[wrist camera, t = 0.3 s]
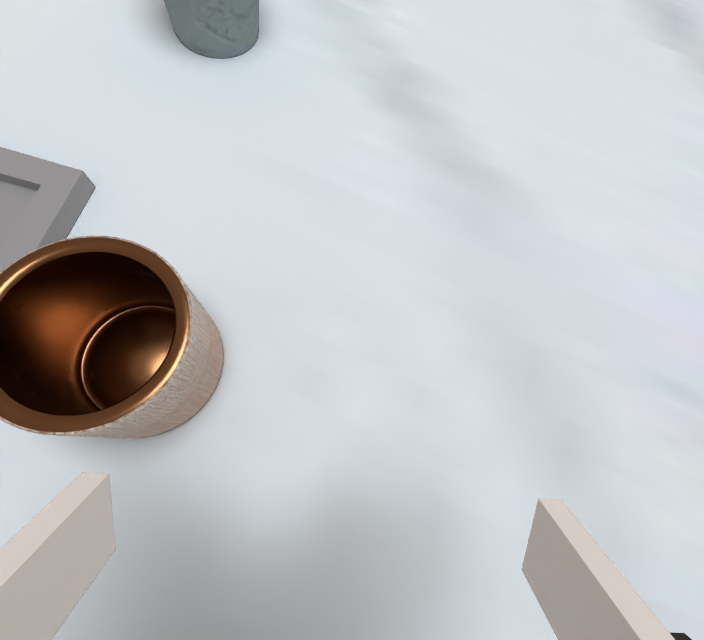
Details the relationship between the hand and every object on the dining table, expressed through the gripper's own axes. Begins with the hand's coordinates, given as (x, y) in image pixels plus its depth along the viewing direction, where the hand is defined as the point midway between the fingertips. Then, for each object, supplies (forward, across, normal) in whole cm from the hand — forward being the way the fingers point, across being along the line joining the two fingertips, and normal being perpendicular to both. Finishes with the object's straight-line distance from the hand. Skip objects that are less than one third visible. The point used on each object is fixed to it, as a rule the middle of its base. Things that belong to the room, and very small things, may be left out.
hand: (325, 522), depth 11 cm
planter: (+17, +14, +2) cm, 22 cm away
